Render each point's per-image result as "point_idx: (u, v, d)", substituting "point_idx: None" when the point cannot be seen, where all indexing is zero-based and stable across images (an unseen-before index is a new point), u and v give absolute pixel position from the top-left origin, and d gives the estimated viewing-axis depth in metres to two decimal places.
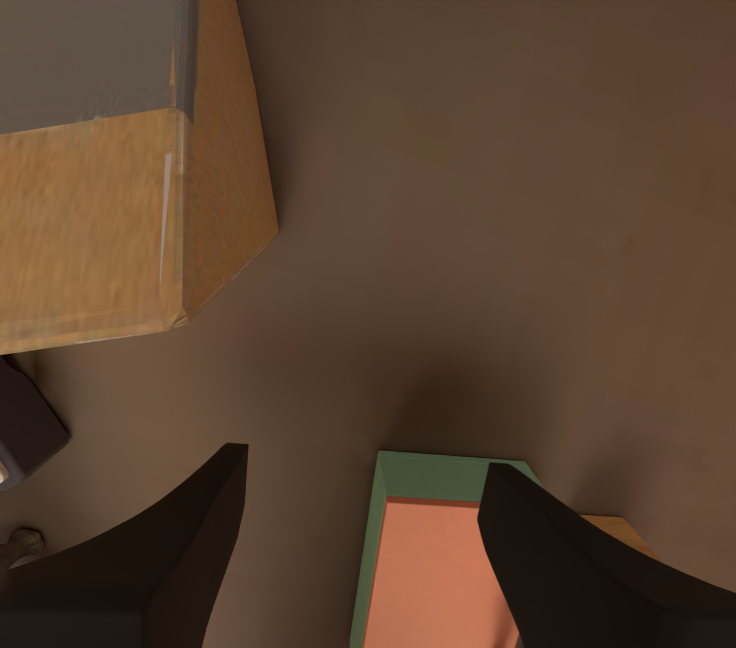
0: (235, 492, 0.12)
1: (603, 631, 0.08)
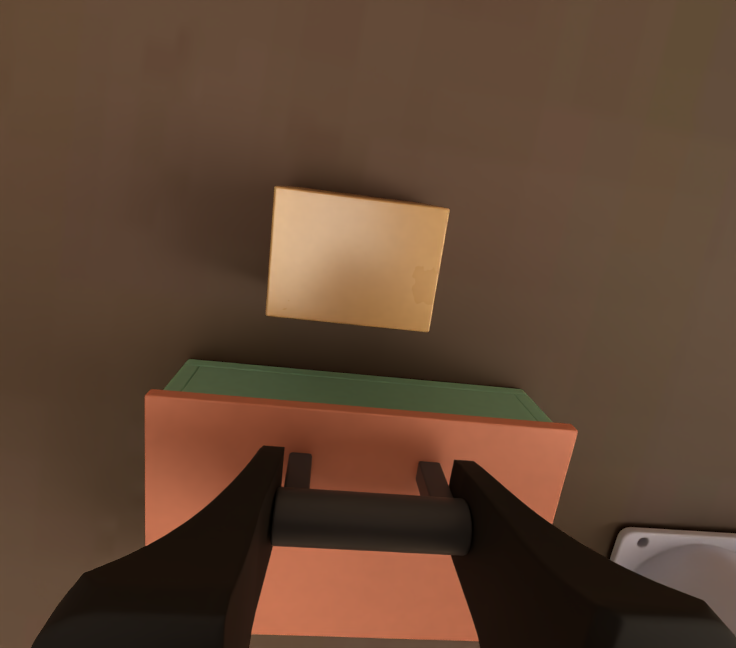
0: None
1: (546, 629, 0.08)
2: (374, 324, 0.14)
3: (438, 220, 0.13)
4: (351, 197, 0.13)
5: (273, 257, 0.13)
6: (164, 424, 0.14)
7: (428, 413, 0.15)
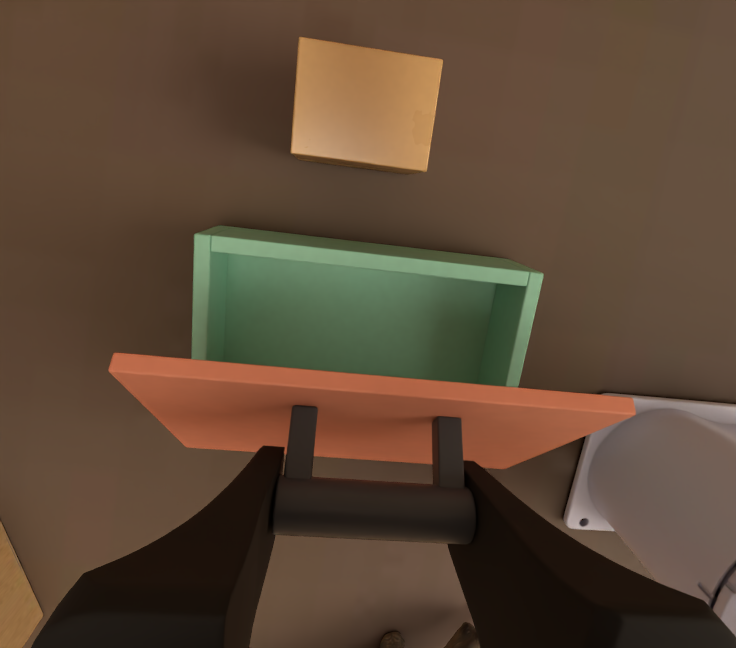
0: None
1: (546, 629, 0.08)
2: (381, 163, 0.16)
3: (433, 69, 0.16)
4: (362, 47, 0.15)
5: (297, 100, 0.16)
6: (143, 385, 0.12)
7: (458, 387, 0.12)
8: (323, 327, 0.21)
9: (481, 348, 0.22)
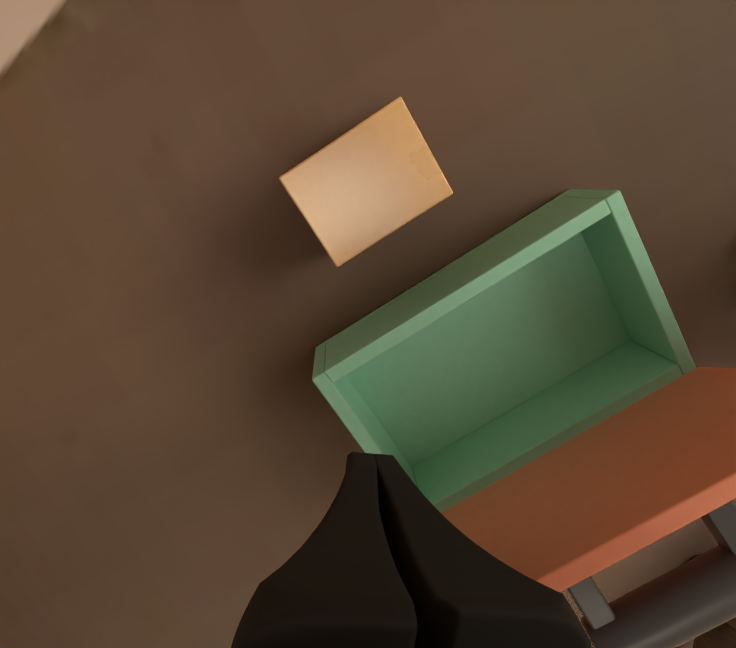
0: None
1: None
2: (411, 217, 0.16)
3: (399, 110, 0.15)
4: (330, 144, 0.15)
5: (312, 225, 0.16)
6: None
7: (720, 489, 0.11)
8: (453, 363, 0.22)
9: (600, 281, 0.21)
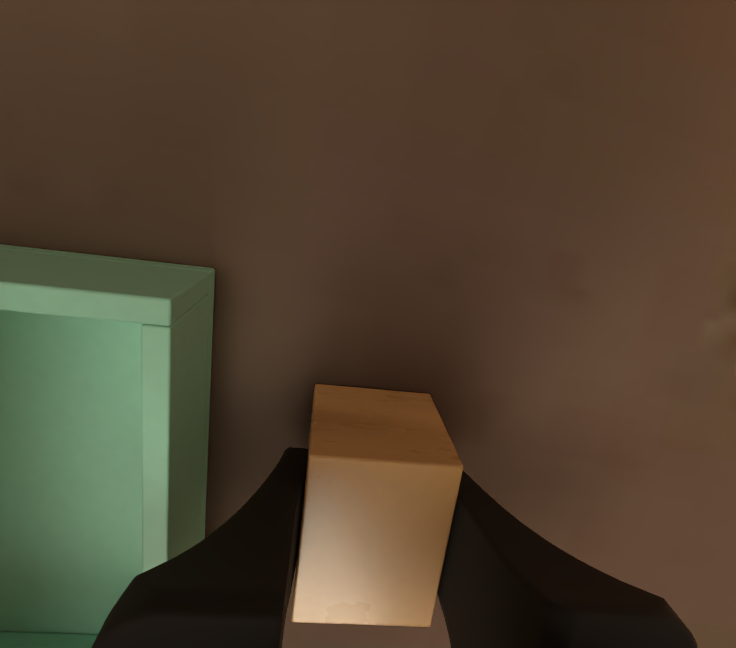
0: None
1: (507, 627, 0.08)
2: (299, 569, 0.11)
3: (419, 619, 0.12)
4: (447, 541, 0.11)
5: (382, 464, 0.11)
6: None
7: None
8: (60, 427, 0.13)
9: (64, 629, 0.15)
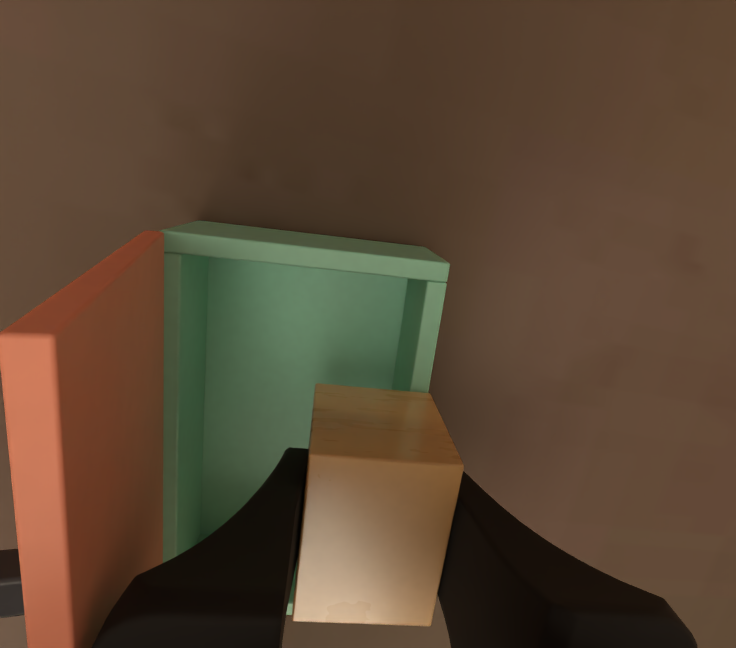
0: None
1: (507, 627, 0.08)
2: (300, 568, 0.11)
3: (419, 618, 0.12)
4: (448, 540, 0.11)
5: (383, 464, 0.11)
6: None
7: None
8: (303, 369, 0.18)
9: None
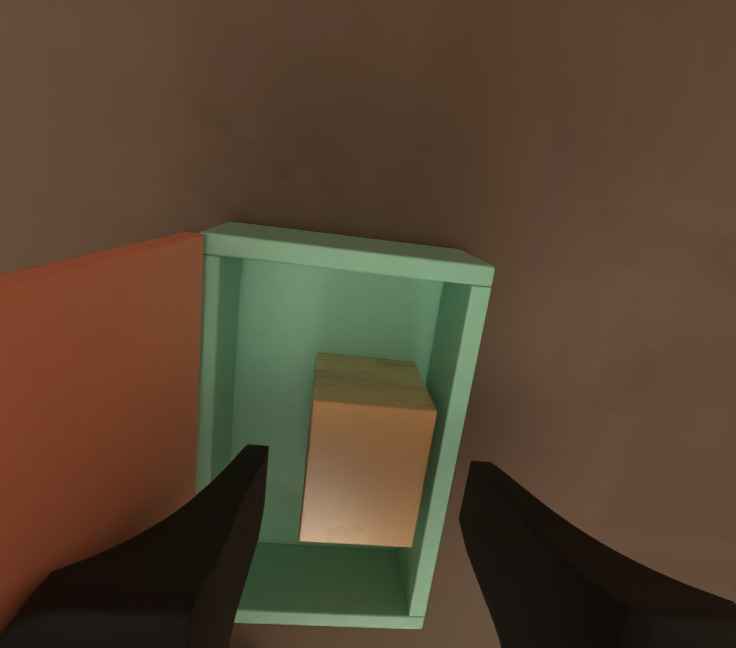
0: (258, 494, 0.12)
1: (573, 630, 0.08)
2: (305, 496, 0.14)
3: (402, 540, 0.15)
4: (425, 473, 0.14)
5: (372, 408, 0.13)
6: None
7: None
8: None
9: (308, 542, 0.19)
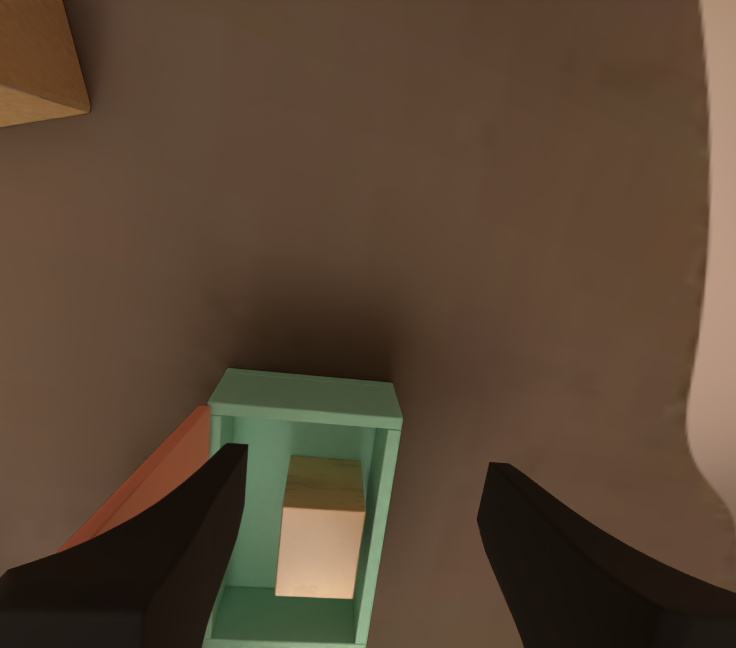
0: (235, 492, 0.12)
1: (603, 631, 0.08)
2: (278, 566, 0.21)
3: (346, 594, 0.22)
4: (359, 551, 0.21)
5: (322, 510, 0.20)
6: None
7: None
8: None
9: None
